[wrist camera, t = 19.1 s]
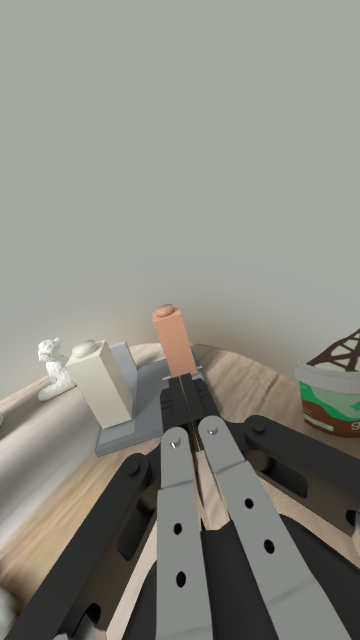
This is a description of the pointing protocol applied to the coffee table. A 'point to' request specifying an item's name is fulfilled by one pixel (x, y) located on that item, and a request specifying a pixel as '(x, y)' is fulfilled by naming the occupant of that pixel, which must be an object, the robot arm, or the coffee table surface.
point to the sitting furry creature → (54, 369)
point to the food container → (333, 388)
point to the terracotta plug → (174, 340)
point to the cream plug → (101, 382)
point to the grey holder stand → (138, 401)
